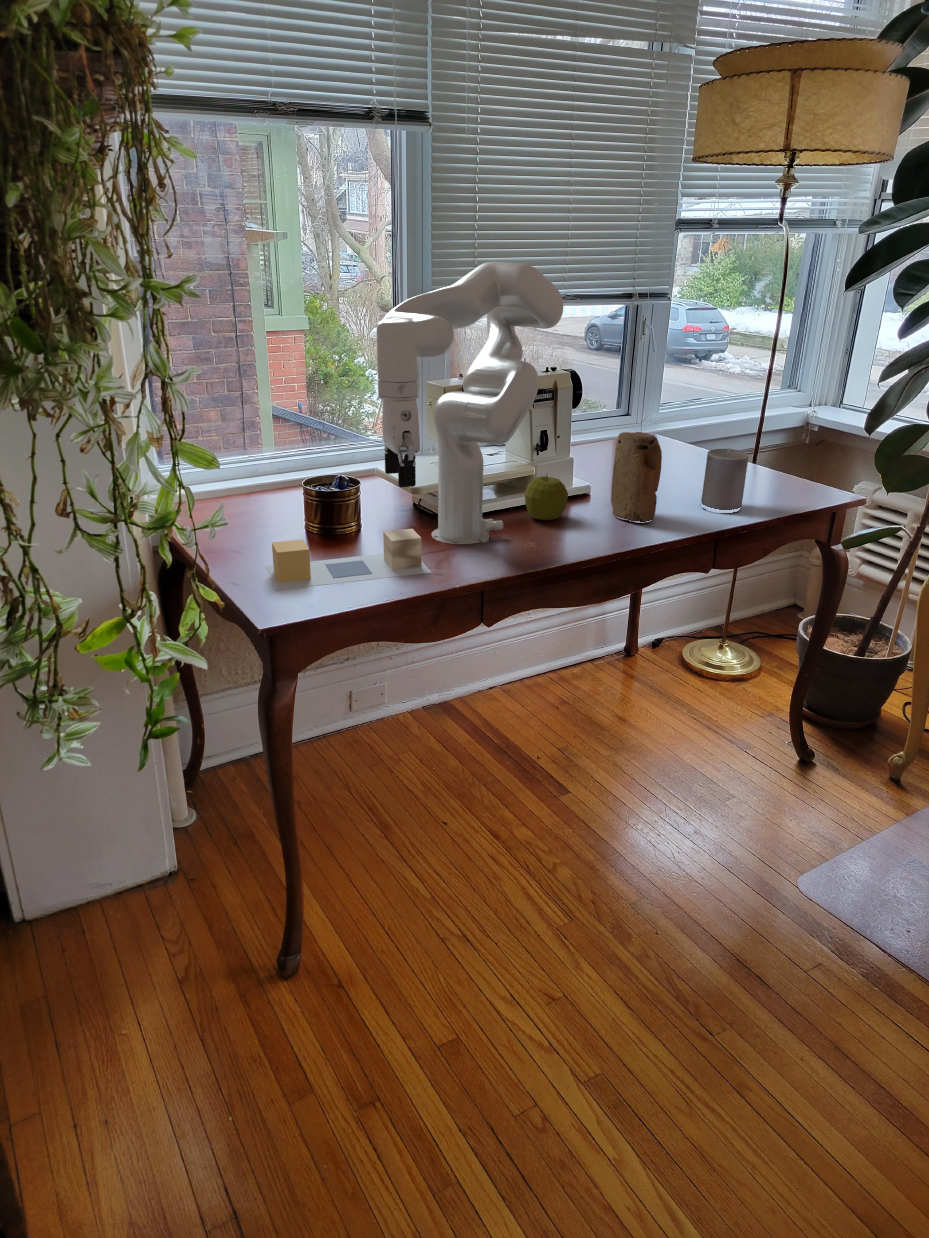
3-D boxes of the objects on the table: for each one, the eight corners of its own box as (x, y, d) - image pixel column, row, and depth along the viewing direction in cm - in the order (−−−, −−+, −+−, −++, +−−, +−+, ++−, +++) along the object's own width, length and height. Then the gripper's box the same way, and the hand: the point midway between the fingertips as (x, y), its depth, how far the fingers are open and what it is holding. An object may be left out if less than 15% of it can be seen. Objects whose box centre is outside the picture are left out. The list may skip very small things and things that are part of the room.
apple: (529, 526, 211) (531, 479, 206) (519, 513, 219) (521, 468, 215) (571, 524, 212) (574, 478, 208) (559, 512, 221) (562, 467, 216)
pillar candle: (699, 501, 231) (706, 442, 225) (739, 503, 230) (747, 444, 223) (702, 513, 222) (709, 452, 216) (743, 515, 221) (752, 454, 215)
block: (606, 514, 220) (613, 431, 212) (631, 510, 223) (639, 428, 215) (634, 527, 211) (642, 440, 203) (660, 523, 214) (669, 437, 206)
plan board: (412, 556, 191) (412, 550, 191) (431, 578, 180) (431, 571, 179) (266, 571, 182) (265, 565, 181) (277, 596, 170) (276, 589, 170)
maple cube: (412, 556, 187) (412, 528, 185) (421, 566, 182) (421, 537, 180) (383, 559, 185) (383, 531, 183) (392, 570, 180) (391, 541, 178)
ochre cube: (304, 568, 180) (303, 539, 178) (310, 579, 175) (309, 549, 173) (273, 571, 178) (271, 542, 176) (279, 582, 173) (277, 552, 171)
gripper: (432, 396, 164) (432, 490, 171) (405, 380, 179) (406, 467, 186) (391, 399, 161) (392, 493, 168) (367, 382, 176) (370, 469, 183)
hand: (400, 479), depth 177 cm, fingers open, 9 cm apart
